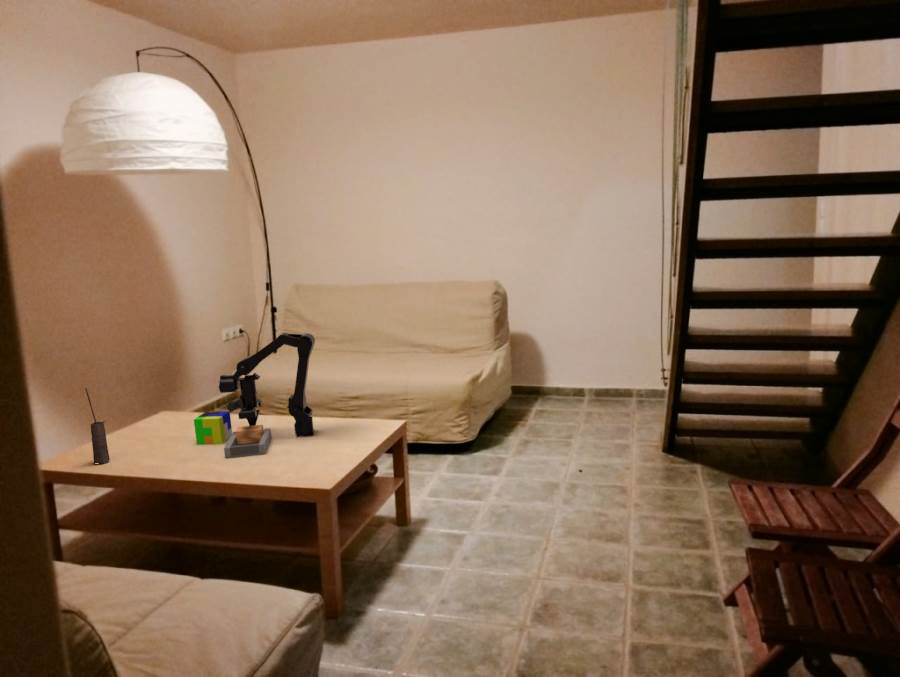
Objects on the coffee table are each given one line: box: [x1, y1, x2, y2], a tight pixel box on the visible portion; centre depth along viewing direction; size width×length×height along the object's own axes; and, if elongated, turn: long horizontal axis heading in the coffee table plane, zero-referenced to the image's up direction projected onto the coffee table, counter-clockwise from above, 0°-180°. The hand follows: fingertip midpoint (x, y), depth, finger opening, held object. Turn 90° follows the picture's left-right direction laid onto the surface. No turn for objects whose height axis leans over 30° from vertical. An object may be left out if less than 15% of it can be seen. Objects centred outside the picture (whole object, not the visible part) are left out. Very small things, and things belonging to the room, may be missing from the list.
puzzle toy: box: [193, 410, 233, 445], centre depth 269 cm, size 10×10×10 cm
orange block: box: [235, 424, 265, 444], centre depth 262 cm, size 9×6×5 cm, turn 98°
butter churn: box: [84, 387, 111, 464], centre depth 249 cm, size 9×10×28 cm
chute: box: [223, 428, 272, 459], centre depth 257 cm, size 14×20×4 cm
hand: (252, 429), depth 269 cm, fingers closed
